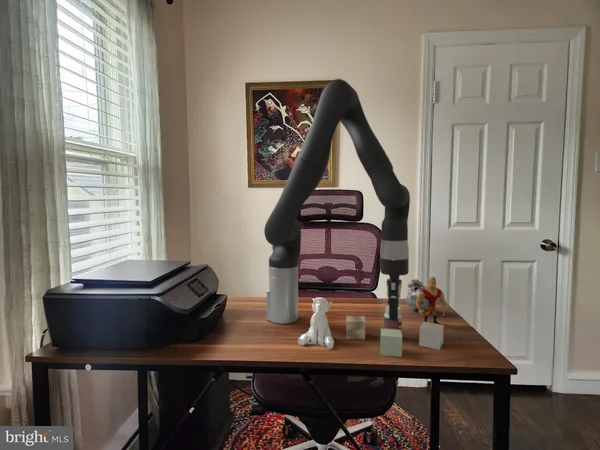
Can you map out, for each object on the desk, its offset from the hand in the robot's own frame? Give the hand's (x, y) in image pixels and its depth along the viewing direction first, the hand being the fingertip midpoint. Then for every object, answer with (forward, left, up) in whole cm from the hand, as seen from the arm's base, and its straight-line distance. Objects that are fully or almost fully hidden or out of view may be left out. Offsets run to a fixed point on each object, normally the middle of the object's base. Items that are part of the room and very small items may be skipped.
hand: (394, 314), depth 98 cm
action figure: (+11, +14, -7) cm, 19 cm away
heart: (+8, +26, -7) cm, 28 cm away
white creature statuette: (-19, -9, -7) cm, 22 cm away
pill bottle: (0, 0, -7) cm, 7 cm away
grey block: (+10, -2, -7) cm, 12 cm away
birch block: (-10, -2, -7) cm, 12 cm away
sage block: (0, -10, -7) cm, 12 cm away
